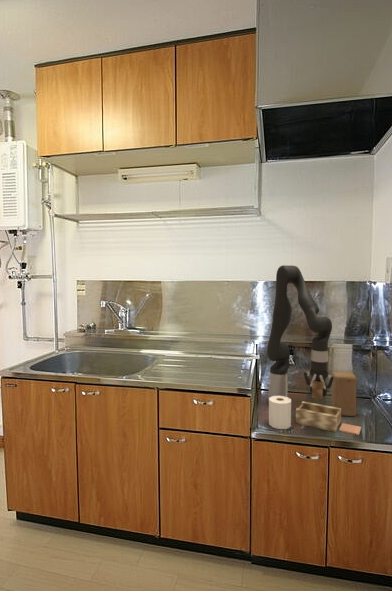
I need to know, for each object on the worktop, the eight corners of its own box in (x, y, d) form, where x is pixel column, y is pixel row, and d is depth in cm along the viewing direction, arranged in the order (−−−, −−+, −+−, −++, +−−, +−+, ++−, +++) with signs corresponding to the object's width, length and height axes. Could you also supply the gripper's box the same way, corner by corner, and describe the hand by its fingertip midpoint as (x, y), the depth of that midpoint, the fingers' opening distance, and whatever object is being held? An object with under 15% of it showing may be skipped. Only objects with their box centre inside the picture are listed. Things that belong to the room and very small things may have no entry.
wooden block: (356, 417, 170) (357, 377, 168) (334, 415, 172) (335, 376, 170) (351, 409, 179) (352, 371, 178) (330, 408, 181) (331, 370, 180)
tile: (339, 430, 155) (339, 429, 155) (342, 424, 162) (342, 423, 162) (358, 435, 151) (359, 433, 151) (361, 428, 158) (361, 426, 158)
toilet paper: (266, 419, 168) (267, 395, 167) (288, 420, 167) (288, 395, 166) (270, 429, 157) (270, 403, 157) (293, 429, 157) (293, 403, 156)
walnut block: (312, 397, 162) (312, 380, 162) (314, 394, 166) (315, 378, 166) (322, 399, 160) (322, 382, 159) (324, 396, 164) (324, 379, 163)
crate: (295, 423, 163) (295, 409, 163) (302, 414, 174) (302, 401, 173) (336, 432, 154) (336, 417, 153) (340, 422, 164) (341, 408, 164)
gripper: (301, 359, 162) (300, 394, 164) (334, 363, 155) (332, 400, 156) (305, 355, 169) (305, 389, 170) (337, 359, 161) (335, 395, 162)
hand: (318, 394), depth 163 cm, fingers closed on walnut block, 4 cm apart
